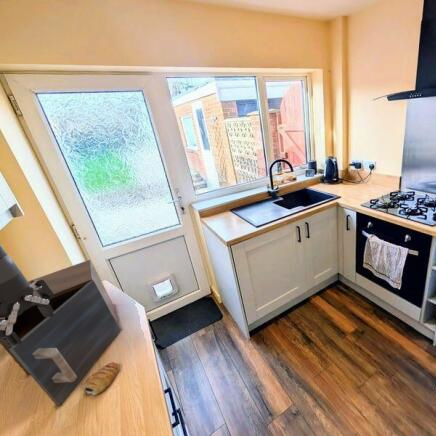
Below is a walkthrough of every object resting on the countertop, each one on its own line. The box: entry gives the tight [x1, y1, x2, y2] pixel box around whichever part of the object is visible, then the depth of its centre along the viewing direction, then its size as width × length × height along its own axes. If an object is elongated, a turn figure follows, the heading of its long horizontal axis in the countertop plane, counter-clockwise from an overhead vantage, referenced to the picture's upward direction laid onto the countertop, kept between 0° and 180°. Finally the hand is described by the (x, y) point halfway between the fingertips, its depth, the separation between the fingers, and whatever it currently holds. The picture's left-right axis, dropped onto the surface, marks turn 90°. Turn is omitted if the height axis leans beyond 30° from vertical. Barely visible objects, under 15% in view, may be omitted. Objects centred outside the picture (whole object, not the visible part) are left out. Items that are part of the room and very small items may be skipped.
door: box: [9, 281, 121, 407], centre depth 78 cm, size 7×26×24 cm, turn 178°
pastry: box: [82, 361, 120, 396], centre depth 76 cm, size 9×7×4 cm
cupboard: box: [0, 259, 119, 376], centre depth 90 cm, size 18×26×24 cm
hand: (34, 329), depth 62 cm, fingers open, 8 cm apart
